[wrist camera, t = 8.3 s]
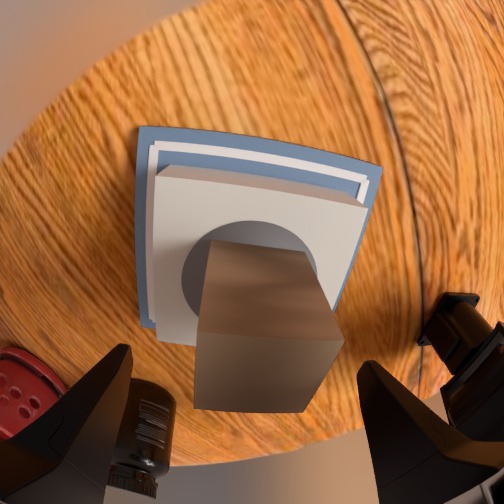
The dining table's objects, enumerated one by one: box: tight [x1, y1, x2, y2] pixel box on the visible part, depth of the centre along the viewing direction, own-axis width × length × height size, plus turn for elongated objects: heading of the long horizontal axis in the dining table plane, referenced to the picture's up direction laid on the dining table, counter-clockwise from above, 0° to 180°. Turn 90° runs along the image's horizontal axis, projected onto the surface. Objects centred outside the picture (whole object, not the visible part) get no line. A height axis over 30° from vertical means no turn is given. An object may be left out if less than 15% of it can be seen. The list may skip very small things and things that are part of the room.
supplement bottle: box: [106, 380, 176, 500], centre depth 20 cm, size 7×7×12 cm
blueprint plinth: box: [135, 126, 383, 346], centre depth 16 cm, size 14×14×4 cm
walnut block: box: [194, 239, 345, 413], centre depth 11 cm, size 4×4×6 cm
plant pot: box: [0, 347, 67, 441], centre depth 19 cm, size 13×13×12 cm
